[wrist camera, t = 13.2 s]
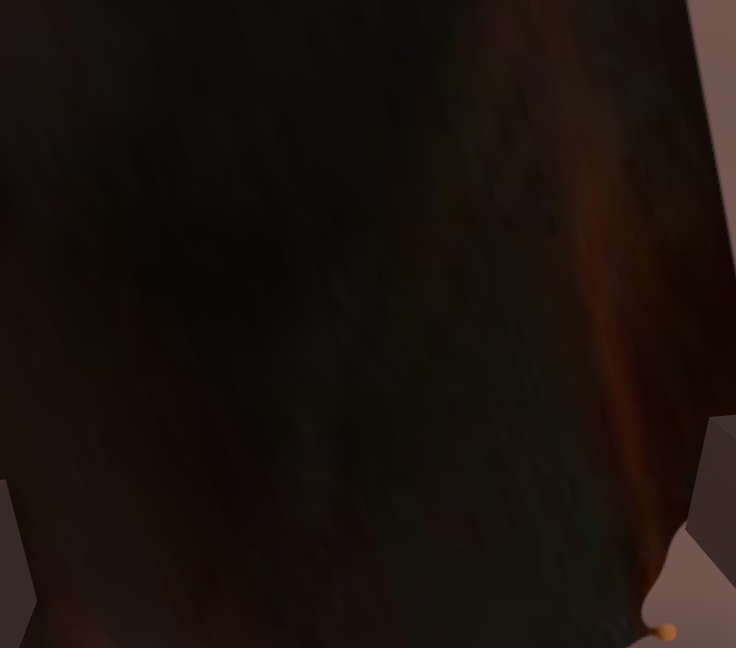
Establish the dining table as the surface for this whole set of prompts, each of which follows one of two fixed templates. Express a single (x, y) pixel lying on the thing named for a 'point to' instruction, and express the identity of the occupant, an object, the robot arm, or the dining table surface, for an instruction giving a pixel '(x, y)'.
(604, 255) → the dining table surface
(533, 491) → the dining table surface
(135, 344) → the dining table surface
